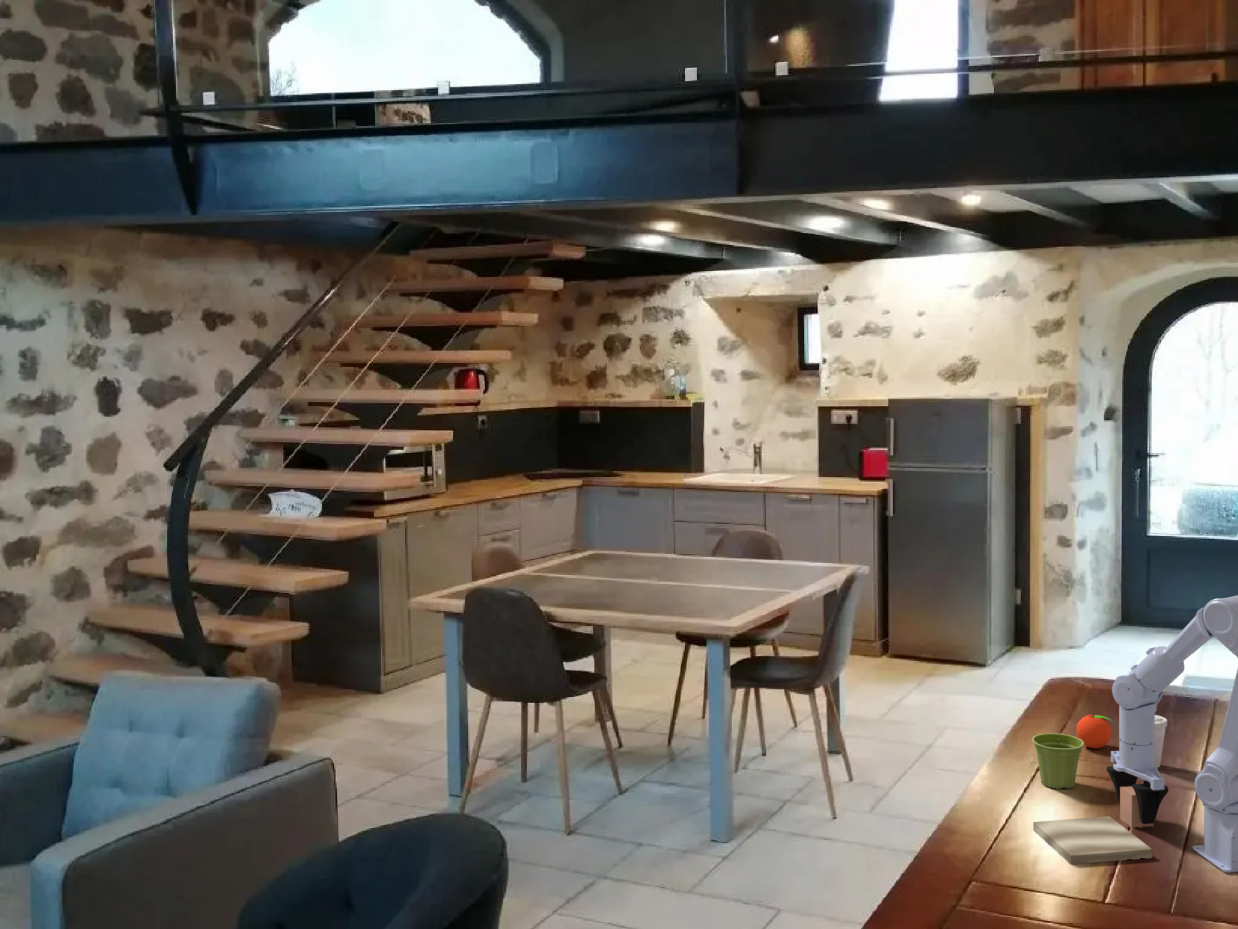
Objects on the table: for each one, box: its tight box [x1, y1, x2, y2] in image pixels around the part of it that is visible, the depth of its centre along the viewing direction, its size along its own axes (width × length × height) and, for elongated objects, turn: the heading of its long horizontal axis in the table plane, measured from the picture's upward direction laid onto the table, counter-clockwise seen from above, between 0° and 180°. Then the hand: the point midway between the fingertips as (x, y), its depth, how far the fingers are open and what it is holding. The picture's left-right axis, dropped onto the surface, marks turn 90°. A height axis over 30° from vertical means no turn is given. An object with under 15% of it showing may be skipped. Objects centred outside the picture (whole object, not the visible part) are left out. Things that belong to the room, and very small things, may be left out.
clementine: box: [1075, 714, 1117, 749], centre depth 247 cm, size 8×7×7 cm
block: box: [1119, 786, 1154, 829], centre depth 208 cm, size 4×4×6 cm
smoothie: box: [1154, 714, 1168, 769], centre depth 235 cm, size 6×6×14 cm
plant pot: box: [1031, 732, 1085, 790], centre depth 227 cm, size 9×9×9 cm
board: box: [1033, 816, 1153, 865], centre depth 200 cm, size 14×14×2 cm
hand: (1136, 814), depth 208 cm, fingers open, 7 cm apart
